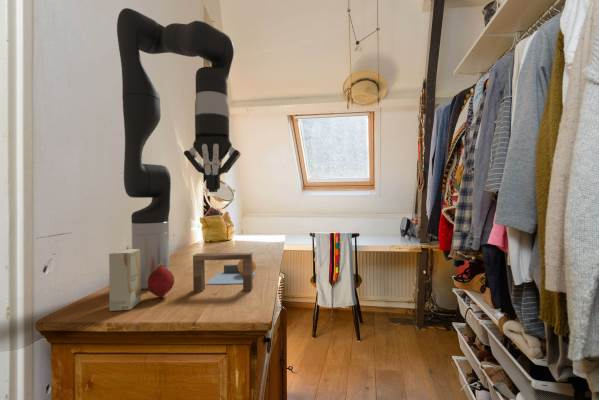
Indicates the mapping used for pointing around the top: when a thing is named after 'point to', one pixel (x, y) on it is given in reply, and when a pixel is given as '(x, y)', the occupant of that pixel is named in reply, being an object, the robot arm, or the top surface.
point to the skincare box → (124, 279)
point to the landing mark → (227, 278)
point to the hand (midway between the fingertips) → (213, 191)
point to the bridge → (201, 257)
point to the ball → (240, 266)
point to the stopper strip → (231, 269)
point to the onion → (160, 281)
